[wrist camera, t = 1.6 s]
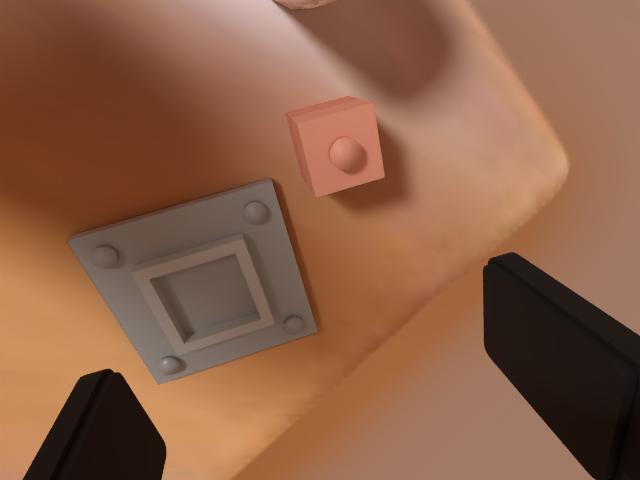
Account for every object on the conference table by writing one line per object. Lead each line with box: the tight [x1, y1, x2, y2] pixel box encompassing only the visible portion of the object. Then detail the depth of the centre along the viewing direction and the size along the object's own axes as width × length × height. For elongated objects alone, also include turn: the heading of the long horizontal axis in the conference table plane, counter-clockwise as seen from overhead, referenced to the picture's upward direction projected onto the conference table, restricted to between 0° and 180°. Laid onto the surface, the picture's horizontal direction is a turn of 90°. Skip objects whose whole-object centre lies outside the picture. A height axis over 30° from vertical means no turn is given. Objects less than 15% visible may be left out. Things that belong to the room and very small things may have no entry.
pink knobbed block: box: [286, 96, 385, 198], centre depth 26 cm, size 5×5×7 cm
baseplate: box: [67, 178, 318, 385], centre depth 31 cm, size 16×16×2 cm
